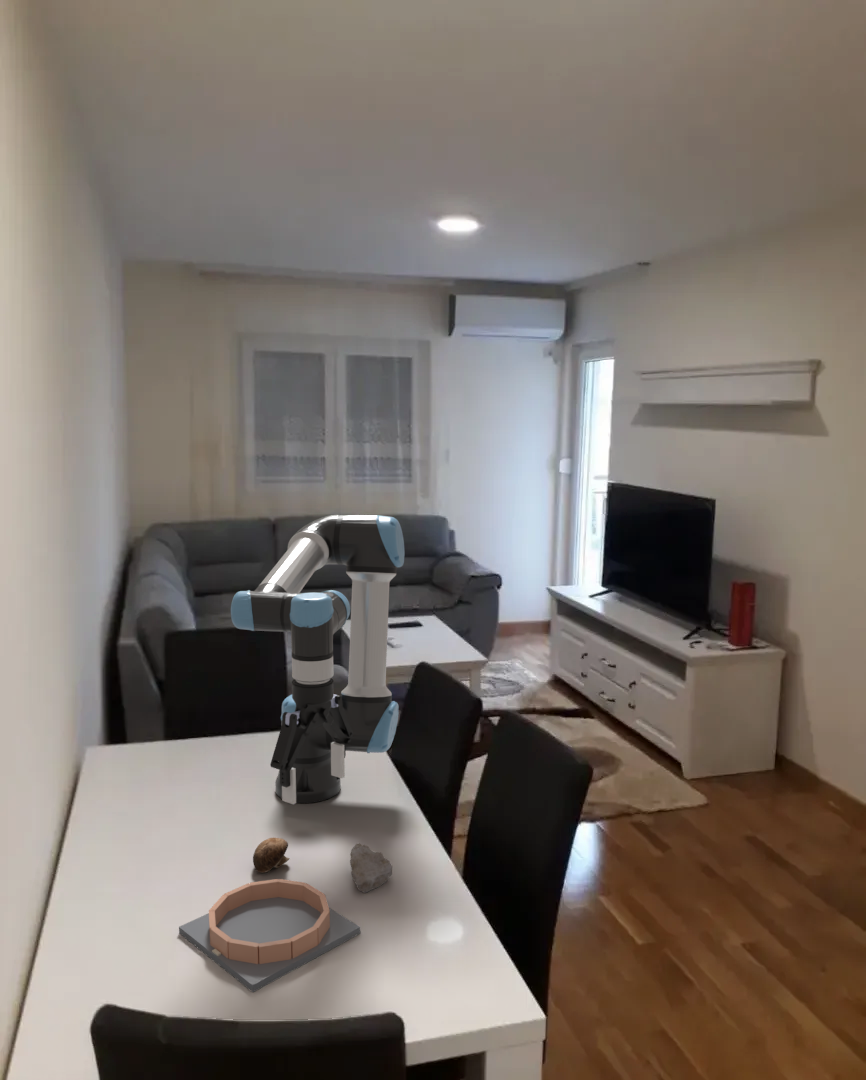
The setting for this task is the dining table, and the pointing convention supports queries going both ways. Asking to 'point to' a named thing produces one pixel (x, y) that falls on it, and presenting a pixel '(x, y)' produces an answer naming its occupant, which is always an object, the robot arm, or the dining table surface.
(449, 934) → the dining table surface
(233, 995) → the dining table surface
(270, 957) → the socket
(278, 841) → the mushroom
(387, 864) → the stone
